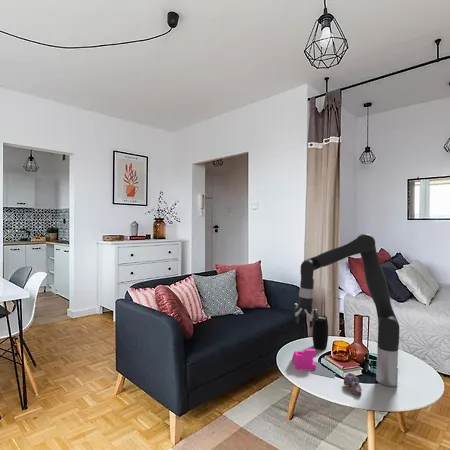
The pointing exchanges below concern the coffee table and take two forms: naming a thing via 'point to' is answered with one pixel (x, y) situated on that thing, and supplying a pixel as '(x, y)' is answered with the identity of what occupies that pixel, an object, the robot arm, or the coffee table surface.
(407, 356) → the coffee table surface
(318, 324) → the portable speaker
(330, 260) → the robot arm
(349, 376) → the purple rock
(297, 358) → the bracket
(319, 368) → the grey mat
